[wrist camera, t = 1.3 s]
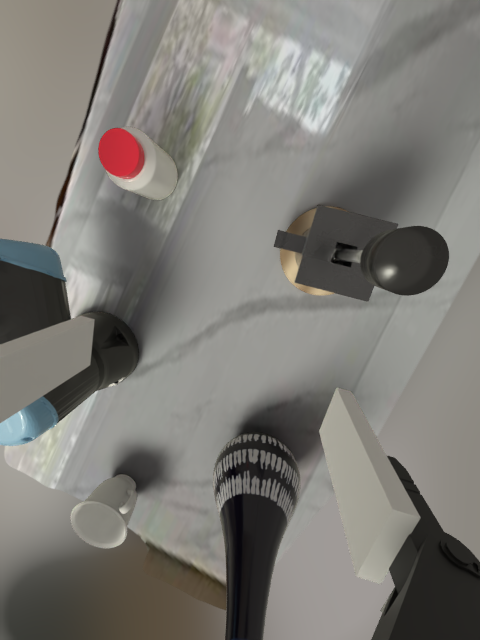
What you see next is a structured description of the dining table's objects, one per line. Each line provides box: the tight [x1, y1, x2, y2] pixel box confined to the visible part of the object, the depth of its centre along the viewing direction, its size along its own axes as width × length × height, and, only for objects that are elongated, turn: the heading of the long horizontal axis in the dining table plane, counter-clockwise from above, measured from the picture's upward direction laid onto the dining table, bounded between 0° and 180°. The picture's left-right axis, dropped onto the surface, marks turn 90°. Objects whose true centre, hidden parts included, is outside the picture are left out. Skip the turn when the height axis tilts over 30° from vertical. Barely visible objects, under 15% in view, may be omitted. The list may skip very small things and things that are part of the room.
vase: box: [213, 432, 300, 640], centre depth 42 cm, size 16×16×30 cm
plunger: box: [330, 226, 449, 295], centre depth 25 cm, size 7×7×19 cm
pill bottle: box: [98, 127, 178, 200], centre depth 39 cm, size 8×8×11 cm
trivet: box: [280, 206, 348, 295], centre depth 44 cm, size 14×14×1 cm
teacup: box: [71, 474, 137, 548], centre depth 58 cm, size 12×15×10 cm
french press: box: [274, 205, 398, 301], centre depth 37 cm, size 13×9×13 cm
